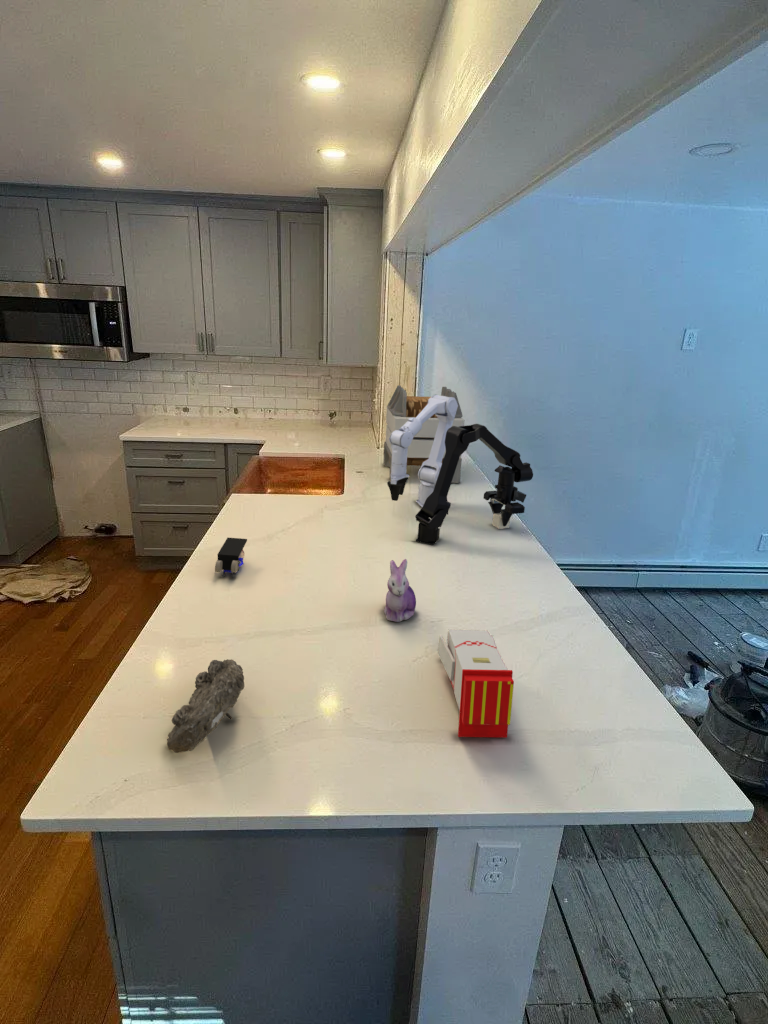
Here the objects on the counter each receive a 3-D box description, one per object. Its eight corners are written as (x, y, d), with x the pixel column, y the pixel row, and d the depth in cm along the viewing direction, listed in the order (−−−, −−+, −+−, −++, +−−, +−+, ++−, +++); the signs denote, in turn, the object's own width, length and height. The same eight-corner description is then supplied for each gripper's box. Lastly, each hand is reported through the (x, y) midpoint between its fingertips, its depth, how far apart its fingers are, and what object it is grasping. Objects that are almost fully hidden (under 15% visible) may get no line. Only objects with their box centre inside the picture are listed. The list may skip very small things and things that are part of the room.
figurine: (392, 627, 141) (395, 572, 136) (374, 608, 149) (376, 556, 144) (425, 619, 145) (429, 566, 140) (405, 601, 154) (408, 550, 149)
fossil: (192, 660, 117) (244, 628, 112) (224, 691, 120) (276, 661, 115) (142, 746, 98) (202, 712, 93) (182, 779, 101) (242, 748, 96)
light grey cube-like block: (509, 527, 210) (510, 516, 208) (498, 529, 208) (500, 517, 207) (502, 523, 214) (503, 512, 212) (492, 524, 212) (493, 513, 211)
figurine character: (238, 584, 162) (249, 557, 175) (236, 562, 158) (247, 536, 172) (215, 584, 161) (227, 556, 175) (212, 561, 158) (225, 535, 171)
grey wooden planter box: (382, 463, 289) (386, 382, 275) (445, 464, 293) (451, 384, 279) (390, 482, 257) (394, 392, 243) (460, 483, 261) (468, 394, 247)
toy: (488, 613, 130) (523, 677, 101) (484, 667, 133) (517, 744, 104) (435, 612, 130) (455, 676, 101) (432, 666, 133) (451, 743, 103)
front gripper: (539, 489, 200) (534, 530, 206) (510, 475, 216) (505, 513, 222) (513, 491, 196) (508, 533, 201) (484, 477, 212) (480, 516, 218)
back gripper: (404, 468, 203) (402, 504, 208) (414, 459, 217) (411, 493, 221) (386, 466, 205) (384, 502, 210) (396, 457, 218) (394, 490, 223)
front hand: (500, 523), depth 211 cm, fingers closed on light grey cube-like block, 4 cm apart
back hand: (397, 497), depth 216 cm, fingers open, 7 cm apart
